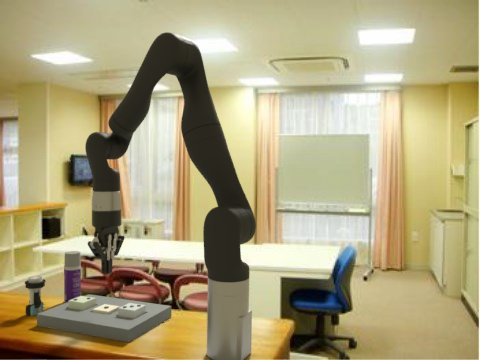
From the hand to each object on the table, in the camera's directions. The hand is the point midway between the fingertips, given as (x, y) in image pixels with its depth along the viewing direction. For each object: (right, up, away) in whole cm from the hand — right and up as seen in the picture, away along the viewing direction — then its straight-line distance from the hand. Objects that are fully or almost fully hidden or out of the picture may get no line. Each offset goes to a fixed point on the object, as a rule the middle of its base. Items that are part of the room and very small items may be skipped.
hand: (107, 273), depth 124 cm
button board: (0, -13, +1) cm, 13 cm away
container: (-15, -12, +17) cm, 26 cm away
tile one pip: (0, -12, 0) cm, 12 cm away
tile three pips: (+7, -11, -2) cm, 13 cm away
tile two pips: (-8, -10, +3) cm, 13 cm away
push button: (-22, -13, +7) cm, 26 cm away
